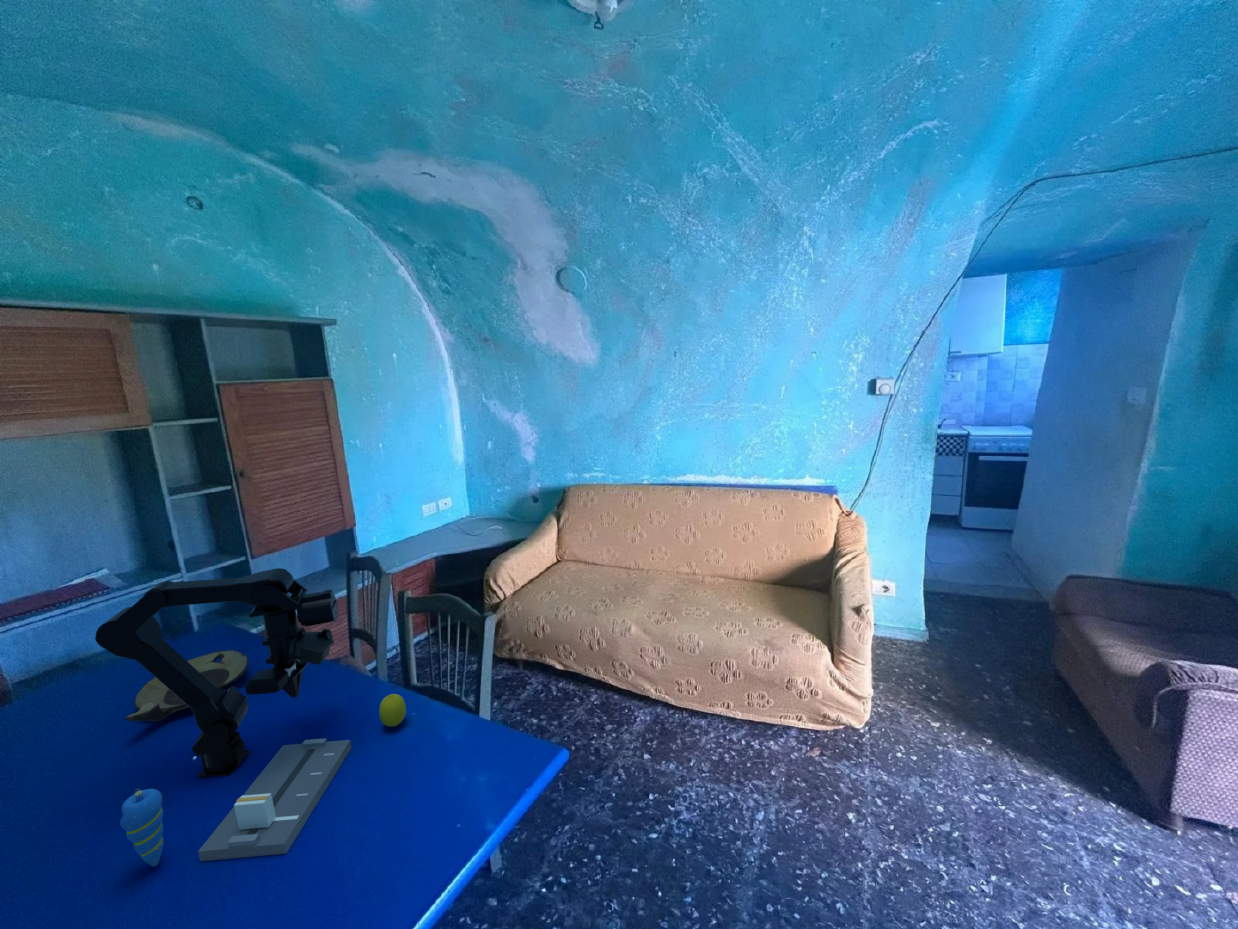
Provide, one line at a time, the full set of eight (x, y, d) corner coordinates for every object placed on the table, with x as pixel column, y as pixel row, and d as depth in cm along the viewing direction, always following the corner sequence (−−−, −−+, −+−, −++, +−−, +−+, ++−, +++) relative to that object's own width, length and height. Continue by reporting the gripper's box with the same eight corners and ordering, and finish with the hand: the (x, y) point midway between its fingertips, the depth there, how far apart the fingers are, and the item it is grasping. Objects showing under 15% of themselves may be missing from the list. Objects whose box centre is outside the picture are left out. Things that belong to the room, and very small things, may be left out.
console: (200, 861, 84) (196, 846, 84) (284, 753, 108) (282, 741, 107) (286, 853, 85) (283, 838, 84) (351, 748, 109) (349, 735, 108)
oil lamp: (274, 671, 139) (269, 646, 137) (148, 751, 110) (140, 720, 109) (214, 661, 145) (208, 637, 143) (80, 735, 116) (72, 705, 115)
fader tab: (239, 829, 87) (233, 804, 86) (247, 819, 89) (241, 794, 88) (269, 827, 88) (263, 802, 87) (276, 817, 90) (270, 792, 89)
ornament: (153, 852, 86) (133, 777, 83) (185, 849, 87) (166, 774, 84) (127, 882, 81) (104, 804, 78) (160, 879, 82) (139, 800, 79)
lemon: (398, 736, 112) (393, 704, 110) (376, 733, 113) (371, 701, 111) (413, 718, 117) (408, 688, 115) (392, 716, 118) (387, 686, 116)
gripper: (297, 652, 96) (310, 724, 99) (343, 606, 114) (353, 668, 117) (236, 656, 95) (251, 728, 98) (293, 609, 114) (304, 671, 117)
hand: (295, 696), depth 108 cm, fingers closed
